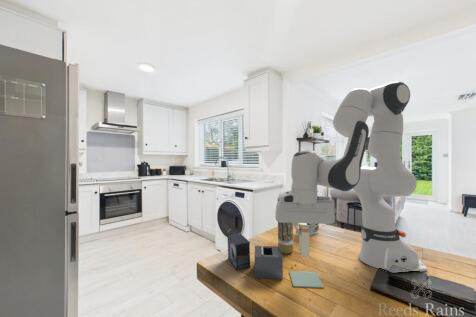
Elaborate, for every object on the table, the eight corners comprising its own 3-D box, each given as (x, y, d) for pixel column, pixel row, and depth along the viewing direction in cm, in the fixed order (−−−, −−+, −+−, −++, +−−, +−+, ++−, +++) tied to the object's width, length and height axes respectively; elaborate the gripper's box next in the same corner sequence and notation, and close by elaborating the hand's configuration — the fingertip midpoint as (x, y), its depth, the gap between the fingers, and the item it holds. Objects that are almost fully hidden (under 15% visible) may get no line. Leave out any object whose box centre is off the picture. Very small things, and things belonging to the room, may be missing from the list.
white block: (306, 250, 76) (306, 223, 76) (309, 256, 71) (309, 227, 71) (298, 249, 77) (298, 222, 76) (301, 256, 72) (301, 227, 71)
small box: (227, 258, 90) (226, 234, 90) (240, 255, 93) (240, 232, 93) (235, 271, 81) (235, 244, 80) (251, 267, 83) (250, 241, 83)
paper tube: (293, 254, 93) (292, 199, 92) (278, 253, 94) (277, 198, 94) (292, 248, 99) (292, 196, 99) (278, 247, 101) (277, 195, 100)
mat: (316, 272, 78) (316, 271, 78) (323, 288, 69) (323, 286, 69) (289, 271, 79) (289, 270, 79) (293, 286, 70) (293, 285, 70)
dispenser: (280, 266, 84) (279, 245, 83) (282, 279, 75) (282, 256, 74) (255, 265, 84) (254, 244, 84) (254, 278, 76) (254, 255, 75)
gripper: (331, 195, 76) (331, 232, 76) (274, 194, 78) (274, 230, 78) (337, 198, 70) (337, 239, 70) (276, 197, 72) (276, 237, 72)
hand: (304, 234), depth 74 cm, fingers closed on white block, 2 cm apart
